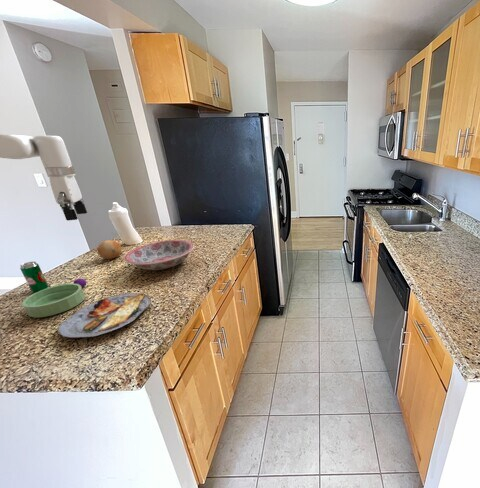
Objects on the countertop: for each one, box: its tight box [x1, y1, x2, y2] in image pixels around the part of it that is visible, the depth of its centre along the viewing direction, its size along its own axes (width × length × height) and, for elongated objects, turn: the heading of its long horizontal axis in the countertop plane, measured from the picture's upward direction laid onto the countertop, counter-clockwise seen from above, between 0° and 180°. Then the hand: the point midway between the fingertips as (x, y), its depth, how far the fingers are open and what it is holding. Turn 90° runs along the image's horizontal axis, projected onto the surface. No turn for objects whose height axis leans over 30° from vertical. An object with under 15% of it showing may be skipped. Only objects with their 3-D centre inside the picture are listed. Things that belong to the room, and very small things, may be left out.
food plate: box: [57, 292, 152, 339], centre depth 90 cm, size 25×23×4 cm
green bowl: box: [21, 282, 86, 318], centre depth 97 cm, size 16×16×5 cm
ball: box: [73, 277, 87, 288], centre depth 109 cm, size 4×4×4 cm
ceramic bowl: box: [124, 239, 195, 271], centre depth 127 cm, size 29×29×8 cm
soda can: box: [19, 261, 49, 293], centre depth 106 cm, size 5×5×12 cm
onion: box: [97, 239, 123, 260], centre depth 135 cm, size 10×10×10 cm
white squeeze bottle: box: [107, 202, 144, 246], centre depth 152 cm, size 12×11×25 cm
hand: (77, 216), depth 102 cm, fingers open, 9 cm apart
